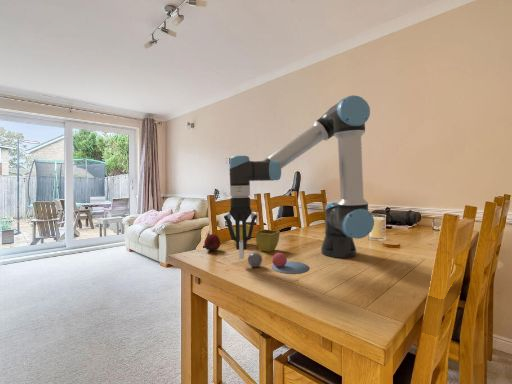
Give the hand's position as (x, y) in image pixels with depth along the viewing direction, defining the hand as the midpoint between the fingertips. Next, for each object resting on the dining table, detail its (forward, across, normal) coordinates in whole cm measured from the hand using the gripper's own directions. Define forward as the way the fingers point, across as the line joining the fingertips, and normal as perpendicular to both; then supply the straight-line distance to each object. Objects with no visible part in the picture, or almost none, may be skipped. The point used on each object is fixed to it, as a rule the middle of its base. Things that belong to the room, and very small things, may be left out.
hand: (241, 257), depth 102 cm
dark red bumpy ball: (+3, -16, +22) cm, 28 cm away
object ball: (+1, +14, 0) cm, 14 cm away
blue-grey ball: (+1, +5, 0) cm, 5 cm away
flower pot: (+4, +10, +24) cm, 26 cm away
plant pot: (+4, -5, +35) cm, 36 cm away
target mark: (+4, +18, 0) cm, 19 cm away
